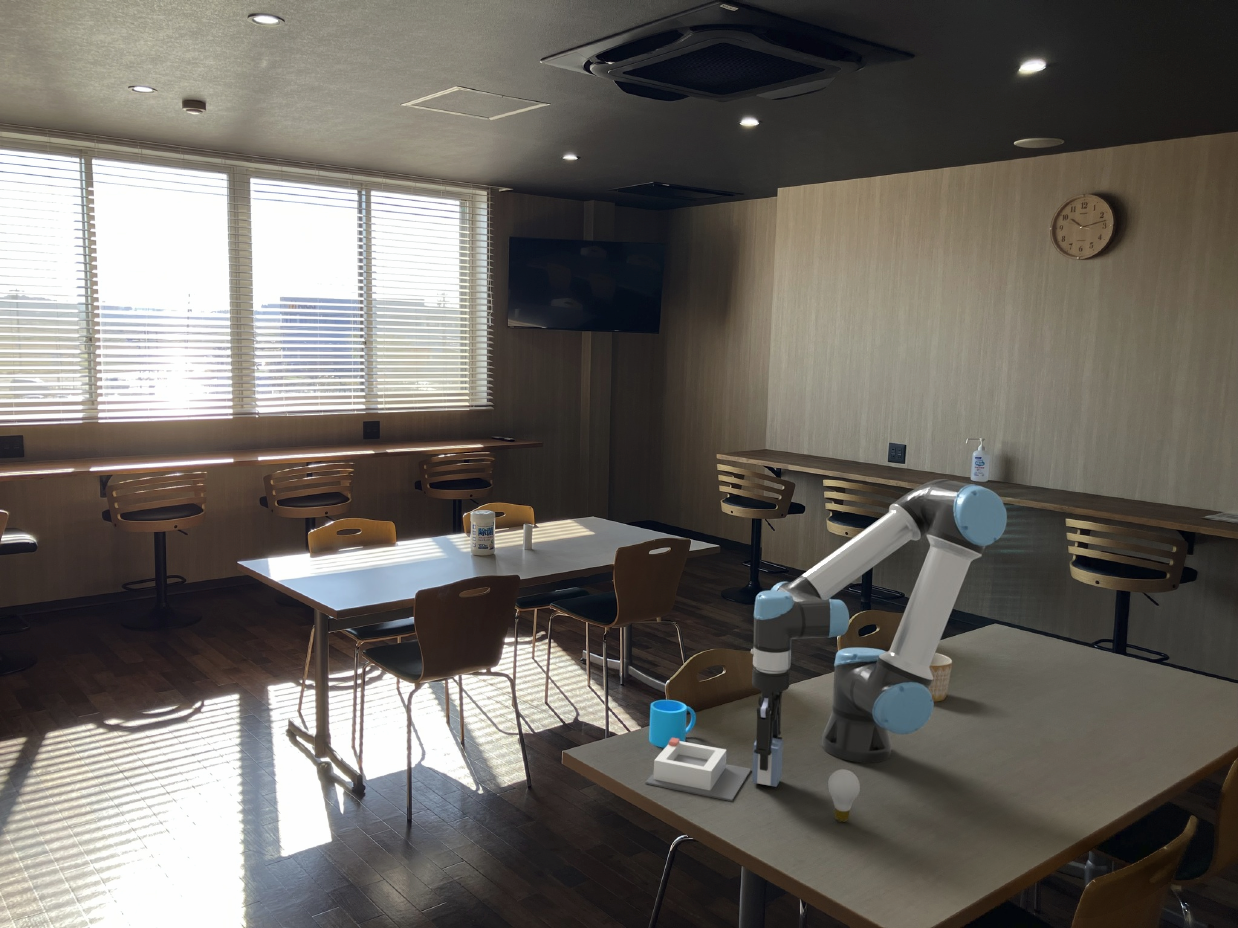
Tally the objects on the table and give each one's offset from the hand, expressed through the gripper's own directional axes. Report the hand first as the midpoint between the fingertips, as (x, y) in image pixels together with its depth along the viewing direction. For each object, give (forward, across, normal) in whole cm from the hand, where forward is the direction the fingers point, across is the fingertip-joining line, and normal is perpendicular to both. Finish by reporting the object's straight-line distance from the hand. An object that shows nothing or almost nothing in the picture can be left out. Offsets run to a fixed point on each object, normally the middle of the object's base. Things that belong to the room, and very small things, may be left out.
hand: (767, 777), depth 196 cm
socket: (+1, +3, -14) cm, 14 cm away
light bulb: (+2, +10, +16) cm, 20 cm away
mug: (+1, -14, -24) cm, 28 cm away
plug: (0, 0, 0) cm, 0 cm away
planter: (+3, -73, +26) cm, 77 cm away
